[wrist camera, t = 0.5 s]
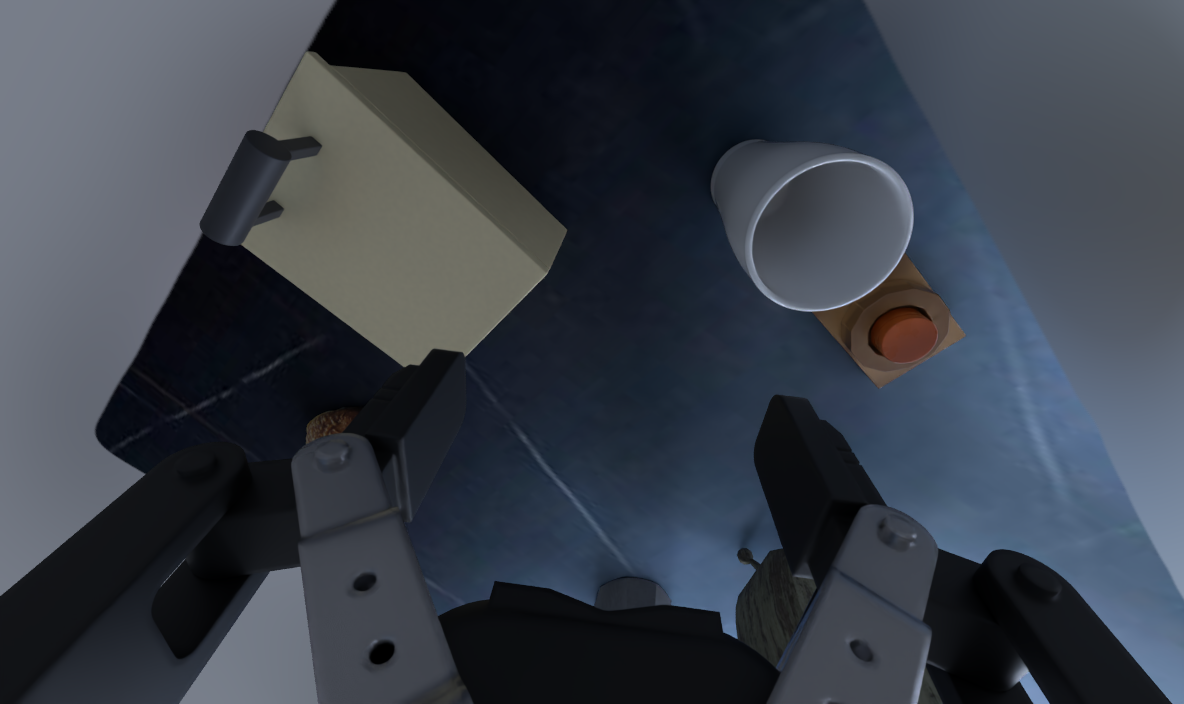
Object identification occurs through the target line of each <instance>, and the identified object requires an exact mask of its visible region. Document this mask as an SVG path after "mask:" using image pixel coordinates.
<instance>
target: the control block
mask: <svg viewBox="0 0 1184 704" xmlns="http://www.w3.org/2000/svg"><path fill="white" fill-rule="evenodd" d="M897 308H912V309H915V310H917V311H918V312H920V313H921V314H922V315H924V316H925V317H926V318H928V319H929V320H930V321H932V322H933V323H934V324H935V326H936V328H937V331H938V338H937V342H936V344H935V346H934V347H933V349H932V350H931V351H930V352H929V353H928V354H927V355H925V356H924V357H922V358H921V359H919V360H916V361H914V362H910V363H895V362H892V361H890V360H888V359H886V358H885V357H884V356H883V354H882V353H881V352H880V351H879V350H878V349H877V348H876V347H875V346H874V345H873V343H872V341H871V330H872V327H873V325H874V324H875V322H876V321H877V320H878V319H879V318H880V317H881V316H882V315H883V314H885V313H887V312H888V311H891V310H893V309H897ZM812 313H813V314H814V315H815V316H816V317H817V318H818V320H819V321H820V322H821V323H822V324H823V325H824V326H825V328H826V329H827V330H828V331H829V332H830V333H831V334H832V336H833V337H834V338H835V339H836V340H837V341H838V343H839V344H840V345H841V346H842V347H843V348H844V349H845V351H846V352H847V353H848V354H849V355H850V356H851V357H852V359H853V360H854V361H855V362H856V363H857V364H858V366H859V367H860V368H861V369H862V370H863V371H864V372H865V374H866V375H867V376H868V377H869V378H870V379H871V380H872V382H873V383H874V384H875V385H876V386H877V387H878V388H881V387H883V386H884V385H886V384H888V383H889V382H891V381H893V380H894V379H896V378H898V377H899V376H901V375H902V374H904V373H906V372H907V371H909V370H911V369H912V368H914V367H916V366H917V365H919V364H921V363H922V362H924V361H926V360H927V359H929V358H931V357H932V356H934V355H936V354H937V353H939V352H940V351H942V350H944V349H945V348H947V347H949V346H950V345H952V344H954V343H955V342H957V341H959V340H960V339H962V338H964V337H965V336H966V335H965V333H964V332H963V331H962V329H961V328H960V327H959V325H958V324H957V322H956V321H955V320H954V318H953V317H952V316H951V314H950V310H949V309H948V307H947V306H946V305H945V303H944V302H943V300H942V299H941V298H940V296H939V295H938V294H936V293H935V292H934V291H933V290H932V289H931V287H930V286H929V285H928V283H927V282H926V281H925V279H924V278H923V276H922V275H921V274H920V272H919V271H918V270H917V268H916V267H915V266H914V264H913V263H912V262H911V260H910V259H909V258H908V256H907V255H906V253H905V252H904V255H903V256H902V258H901V260H900V261H899V263H898V264H897V266H896V267H895V269H894V270H893V271H892V272H891V274H890V275H889V276H888V277H887V278H886V279H885V280H884V281H883V282H882V283H881V284H880V285H879V286H877V287H876V288H875V289H874V290H872V291H871V292H869V293H868V294H866V295H865V296H863V297H862V298H860V299H858V300H856V301H854V302H852V303H850V304H847V305H844V306H842V307H838V308H835V309H831V310H825V311H813V312H812Z"/></svg>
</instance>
